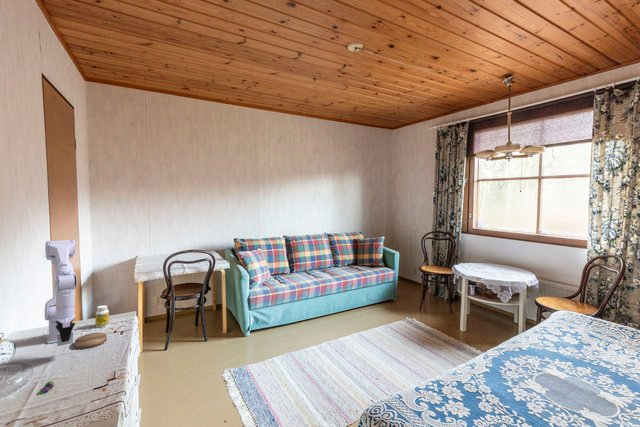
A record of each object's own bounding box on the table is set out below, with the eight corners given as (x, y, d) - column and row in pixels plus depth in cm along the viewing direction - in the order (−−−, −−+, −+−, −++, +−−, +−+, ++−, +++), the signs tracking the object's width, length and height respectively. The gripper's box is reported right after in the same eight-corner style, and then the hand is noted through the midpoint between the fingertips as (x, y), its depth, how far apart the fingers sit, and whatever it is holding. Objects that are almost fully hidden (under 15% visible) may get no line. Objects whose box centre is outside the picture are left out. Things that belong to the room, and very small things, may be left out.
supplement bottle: (109, 322, 149) (109, 304, 149) (108, 326, 144) (108, 307, 144) (95, 324, 146) (96, 305, 146) (94, 328, 142) (95, 309, 141)
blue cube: (57, 341, 116) (57, 330, 116) (72, 338, 119) (72, 327, 119) (57, 346, 113) (57, 335, 113) (72, 342, 116) (72, 331, 116)
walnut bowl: (73, 341, 128) (73, 337, 128) (104, 334, 136) (104, 330, 136) (75, 351, 120) (75, 347, 120) (108, 343, 128) (108, 339, 128)
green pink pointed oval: (43, 388, 98) (43, 381, 98) (53, 387, 98) (53, 380, 98) (34, 396, 94) (34, 389, 94) (45, 395, 94) (45, 388, 94)
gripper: (51, 302, 118) (51, 335, 118) (52, 313, 107) (51, 349, 108) (74, 298, 123) (73, 330, 123) (77, 309, 112) (76, 343, 113)
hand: (65, 338), depth 116 cm, fingers closed on blue cube, 4 cm apart
